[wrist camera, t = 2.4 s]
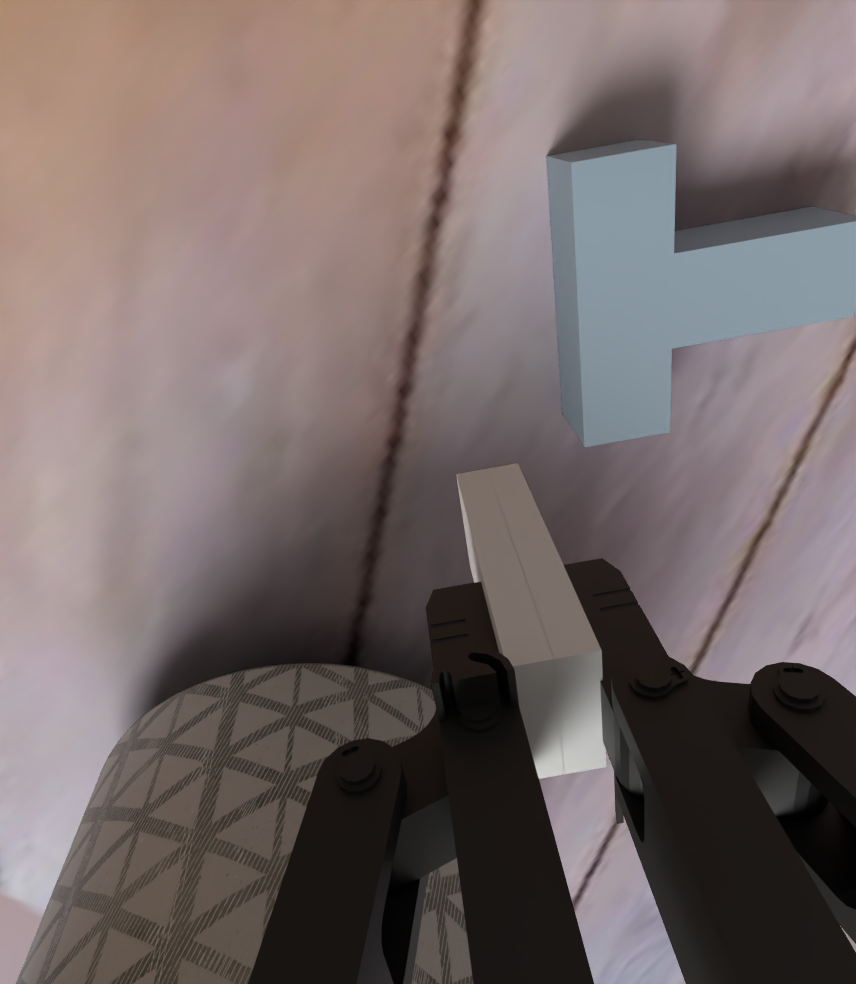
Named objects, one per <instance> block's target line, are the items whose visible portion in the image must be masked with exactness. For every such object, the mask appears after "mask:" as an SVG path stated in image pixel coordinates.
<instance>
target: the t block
mask: <svg viewBox="0 0 856 984" xmlns="http://www.w3.org/2000/svg"><path fill="white" fill-rule="evenodd" d="M546 161H547V177H548V193H549V209H550V225H551V241H552V257H553V273H554V289H555V305H556V321H557V337H558V353H559V369H560V385H561V401H562V414H563V416H564V417H565V419H566V420H567V422H568V423H569V425H570V426H571V428H572V429H573V431H574V432H575V434H576V436H577V437H578V439H579V440H580V442H581V443H582V445H583V446H584V448H585V447H591V446H596V445H602V444H607V443H613V442H619V441H624V440H630V439H636V438H641V437H647V436H652V435H658V434H664V433H669V432H670V417H671V371H672V349H674V348H680V347H685V346H691V345H697V344H702V343H708V342H713V341H719V340H725V339H730V338H736V337H742V336H747V335H753V334H758V333H764V332H770V331H775V330H781V329H786V328H792V327H798V326H803V325H809V324H815V323H820V322H826V321H831V320H837V319H843V318H848V317H854V316H855V311H856V216H855V215H850V214H846V213H841V212H836V211H832V210H827V209H823V208H818V207H814V206H813V207H807V208H801V209H796V210H790V211H784V212H779V213H773V214H768V215H762V216H756V217H751V218H745V219H740V220H734V221H728V222H723V223H717V224H711V225H706V226H700V227H695V228H689V229H683V230H678V231H675V188H676V144H673V143H665V142H656V141H647V140H633V141H628V142H622V143H617V144H611V145H605V146H600V147H594V148H589V149H583V150H577V151H572V152H566V153H561V154H555V155H549V156H546Z"/></svg>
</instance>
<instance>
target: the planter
mask: <svg viewBox="0 0 856 984" xmlns="http://www.w3.org/2000/svg"><path fill="white" fill-rule="evenodd" d="M435 711H436V706H435V701H434V696H433V691H432V690H431V689H429V688H427V687H425V686H422V685H420V684H418V683H415V682H413V681H410V680H407V679H404V678H402V677H399V676H396V675H392V674H388V673H384V672H381V671H377V670H372V669H366V668H361V667H356V666H348V665H339V664H324V663H295V664H280V665H271V666H262V667H257V668H251V669H246V670H241V671H237V672H233V673H229V674H226V675H222V676H218V677H215V678H213V679H210V680H207V681H204V682H202V683H199V684H196V685H194V686H192V687H190V688H188V689H186V690H183V691H181V692H179V693H177V694H175V695H174V696H172V697H170V698H168V699H167V700H165V701H163V702H162V703H160V704H159V705H157V706H156V707H154V708H153V709H152V710H150V711H149V712H147V713H146V714H145V715H144V716H142V717H141V718H140V719H139V720H138V721H137V722H136V723H135V724H134V725H133V726H131V727H130V729H129V730H128V731H127V732H126V733H125V734H124V735H123V737H122V738H121V739H120V740H119V741H118V743H117V744H116V746H115V747H114V749H113V750H112V752H111V753H110V754H109V756H108V758H107V760H106V762H105V764H104V767H103V769H102V771H101V773H100V776H99V778H98V781H97V783H96V786H95V788H94V791H93V793H92V796H91V798H90V801H89V803H88V806H87V808H86V811H85V813H84V816H83V818H82V821H81V823H80V826H79V828H78V831H77V833H76V836H75V838H74V840H73V843H72V845H71V848H70V850H69V853H68V855H67V858H66V860H65V863H64V865H63V868H62V870H61V873H60V875H59V878H58V880H57V883H56V885H55V888H54V890H53V893H52V895H51V898H50V900H49V903H48V905H47V908H46V910H45V913H44V915H43V917H42V920H41V922H40V925H39V928H38V930H37V933H36V935H35V937H34V940H33V942H32V945H31V947H30V950H29V952H28V955H27V957H26V960H25V962H24V965H23V967H22V970H21V973H20V975H19V977H18V980H17V982H16V984H248V982H249V979H250V976H251V973H252V970H253V967H254V964H255V961H256V958H257V955H258V952H259V949H260V946H261V943H262V940H263V937H264V934H265V931H266V928H267V925H268V922H269V919H270V916H271V913H272V910H273V907H274V904H275V901H276V898H277V895H278V892H279V889H280V886H281V883H282V880H283V877H284V874H285V871H286V868H287V865H288V862H289V859H290V856H291V853H292V850H293V847H294V844H295V841H296V837H297V834H298V831H299V828H300V825H301V822H302V819H303V816H304V813H305V810H306V807H307V804H308V801H309V798H310V795H311V792H312V789H313V786H314V783H315V780H316V777H317V774H318V772H319V770H320V768H321V766H322V764H323V763H324V761H325V759H326V758H327V757H328V756H329V755H330V754H331V753H332V752H334V751H335V750H336V749H337V748H338V747H340V746H342V745H344V744H346V743H348V742H351V741H353V740H359V739H366V738H371V739H376V740H381V741H384V742H385V743H387V744H388V745H390V746H391V747H393V746H395V745H397V744H399V743H401V742H404V741H406V740H408V739H410V738H411V737H413V736H414V735H416V734H418V733H419V732H420V731H421V730H423V729H424V728H425V727H426V726H427V725H428V724H429V722H430V721H431V719H432V718H433V716H434V714H435ZM412 984H473V977H472V969H471V962H470V954H469V947H468V939H467V931H466V924H465V916H464V909H463V901H462V893H461V886H460V878H459V871H458V863H457V858H456V859H454V860H452V861H451V862H449V863H447V864H445V865H443V866H442V867H440V868H438V869H436V870H434V871H433V872H431V873H429V874H428V880H427V886H426V893H425V899H424V906H423V913H422V919H421V926H420V932H419V939H418V946H417V952H416V959H415V965H414V972H413V979H412Z"/></svg>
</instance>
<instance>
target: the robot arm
mask: <svg viewBox="0 0 856 984" xmlns="http://www.w3.org/2000/svg"><path fill="white" fill-rule="evenodd" d="M456 477H457V483H458V490H459V496H460V503H461V510H462V516H463V523H464V529H465V536H466V542H467V549H468V555H469V562H470V568H471V572H472V576H473V580H474V583H470V584H464V585H459V586H453V587H447V588H442V589H436V590H433V592H432V595H431V597H430V599H429V601H428V604H427V606H426V613H427V621H428V628H429V636H430V643H431V652H432V659H433V667H434V671H433V674H432V681H431V686H432V691H433V696H434V701H435V706H436V711H435V714H434V716H433V718H432V719H431V721H430V722H429V724H428V725H427V726H426V727H425V728H424V729H423V730H421V731H420V732H419V733H418V734H416V735H414V736H413V737H411V738H410V739H408V740H406V741H404V742H401V743H399V744H397V745H395V746H393V747H391V746H390V745H388V744H387V743H385V742H384V741H381V740H376V739H371V738H366V739H359V740H353V741H351V742H348V743H346V744H344V745H342V746H340V747H338V748H337V749H336V750H335V751H334V752H332V753H331V754H330V755H329V756H328V757H327V758H326V759H325V761H324V763H323V764H322V766H321V768H320V770H319V772H318V774H317V777H316V780H315V783H314V786H313V789H312V792H311V795H310V798H309V801H308V804H307V807H306V810H305V813H304V816H303V819H302V822H301V825H300V828H299V831H298V834H297V837H296V841H295V844H294V847H293V850H292V853H291V856H290V859H289V862H288V865H287V868H286V871H285V874H284V877H283V880H282V883H281V886H280V889H279V892H278V895H277V898H276V901H275V904H274V907H273V910H272V913H271V916H270V919H269V922H268V925H267V928H266V931H265V934H264V937H263V940H262V943H261V946H260V949H259V952H258V955H257V958H256V961H255V964H254V967H253V970H252V973H251V976H250V979H249V982H248V984H412V979H413V972H414V965H415V959H416V952H417V946H418V939H419V932H420V926H421V919H422V913H423V906H424V899H425V893H426V886H427V880H428V874H429V873H431V872H433V871H434V870H436V869H438V868H440V867H442V866H443V865H445V864H447V863H449V862H451V861H452V860H454V859H456V858H457V863H458V871H459V878H460V886H461V893H462V901H463V909H464V916H465V924H466V931H467V939H468V947H469V954H470V962H471V969H472V977H473V984H594V982H593V978H592V974H591V971H590V967H589V963H588V959H587V956H586V952H585V948H584V945H583V941H582V937H581V934H580V930H579V926H578V922H577V919H576V915H575V911H574V908H573V904H572V900H571V897H570V893H569V889H568V885H567V882H566V878H565V874H564V871H563V867H562V863H561V860H560V856H559V852H558V848H557V845H556V841H555V837H554V834H553V830H552V826H551V823H550V819H549V815H548V811H547V808H546V804H545V800H544V797H543V793H542V789H541V785H540V782H539V779H542V778H547V777H553V776H558V775H564V774H570V773H575V772H581V771H587V770H592V769H598V768H603V767H606V751H607V753H608V756H609V759H610V761H611V764H612V766H613V769H614V782H615V812H616V819H617V824H619V823H624V821H623V815H624V817H625V820H626V823H627V826H628V828H629V831H630V834H631V836H632V839H633V842H634V845H635V847H636V850H637V853H638V855H639V858H640V861H641V863H642V866H643V869H644V872H645V874H646V877H647V880H648V882H649V885H650V888H651V890H652V893H653V896H654V899H655V901H656V904H657V907H658V909H659V912H660V915H661V917H662V920H663V923H664V926H665V928H666V931H667V934H668V936H669V939H670V942H671V945H672V947H673V950H674V953H675V955H676V958H677V961H678V963H679V966H680V969H681V972H682V974H683V977H684V980H685V982H686V984H856V952H855V951H854V949H853V947H852V946H851V944H850V942H849V940H848V939H847V937H846V935H845V933H844V932H843V930H842V928H843V929H844V931H845V932H846V933H847V934H848V935H849V936H850V938H851V939H852V940H853V941H854V942H855V943H856V696H855V695H853V694H852V693H851V692H850V691H848V690H847V689H846V688H845V687H843V686H842V685H841V684H840V683H838V682H837V681H836V680H835V679H833V678H832V677H830V676H829V675H827V674H825V673H824V672H822V671H820V670H819V669H816V668H813V667H810V666H806V665H803V664H800V663H786V662H781V663H776V664H771V665H766V666H765V667H763V668H762V669H760V670H759V671H757V672H756V673H755V675H754V677H753V679H752V681H751V684H741V683H727V682H717V681H711V680H706V679H702V678H699V677H696V676H694V675H693V674H692V673H691V672H690V671H689V670H688V669H687V668H686V667H685V665H683V664H681V663H679V662H678V661H676V660H674V659H672V658H670V657H669V656H668V655H667V653H666V651H665V649H664V648H663V646H662V644H661V642H660V641H659V639H658V637H657V635H656V634H655V632H654V630H653V628H652V626H651V625H650V623H649V621H648V619H647V618H646V616H645V614H644V612H643V610H642V609H641V607H640V605H638V602H637V600H636V598H635V596H634V595H633V593H632V591H630V587H629V586H628V584H627V582H626V580H625V579H624V577H623V575H622V573H621V571H619V570H618V569H616V568H615V567H614V566H612V565H611V564H609V563H608V562H607V561H605V560H604V559H602V558H601V559H596V560H590V561H584V562H579V563H573V564H568V565H563V563H562V561H561V558H560V556H559V554H558V552H557V549H556V547H555V545H554V543H553V541H552V538H551V536H550V534H549V532H548V529H547V527H546V525H545V523H544V520H543V518H542V516H541V514H540V511H539V509H538V507H537V505H536V502H535V500H534V498H533V496H532V493H531V491H530V489H529V487H528V485H527V482H526V480H525V478H524V476H523V473H522V471H521V469H520V467H519V464H518V463H515V464H510V465H504V466H499V467H493V468H487V469H482V470H476V471H471V472H465V473H459V474H456ZM840 926H841V927H842V928H841V927H840Z"/></svg>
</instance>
